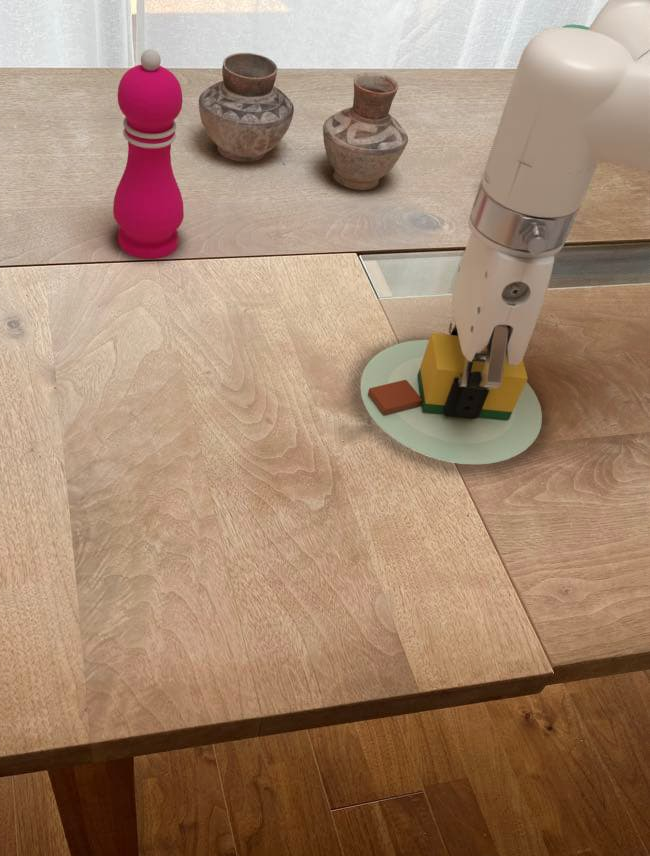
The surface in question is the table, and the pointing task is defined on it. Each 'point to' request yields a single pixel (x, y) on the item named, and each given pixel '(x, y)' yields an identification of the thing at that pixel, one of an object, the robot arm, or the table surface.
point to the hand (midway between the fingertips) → (456, 392)
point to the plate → (438, 431)
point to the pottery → (272, 114)
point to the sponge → (446, 365)
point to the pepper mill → (149, 161)
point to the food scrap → (394, 397)
